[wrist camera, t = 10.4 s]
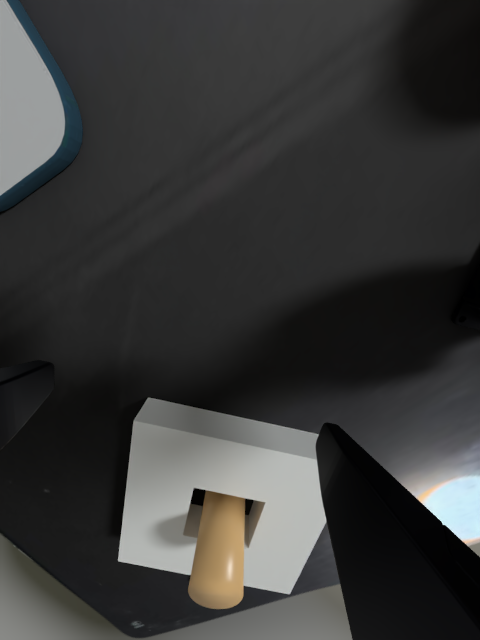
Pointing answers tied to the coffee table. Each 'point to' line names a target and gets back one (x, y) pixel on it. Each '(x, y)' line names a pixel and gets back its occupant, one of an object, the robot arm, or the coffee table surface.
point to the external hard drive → (32, 109)
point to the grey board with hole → (220, 490)
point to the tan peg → (219, 552)
